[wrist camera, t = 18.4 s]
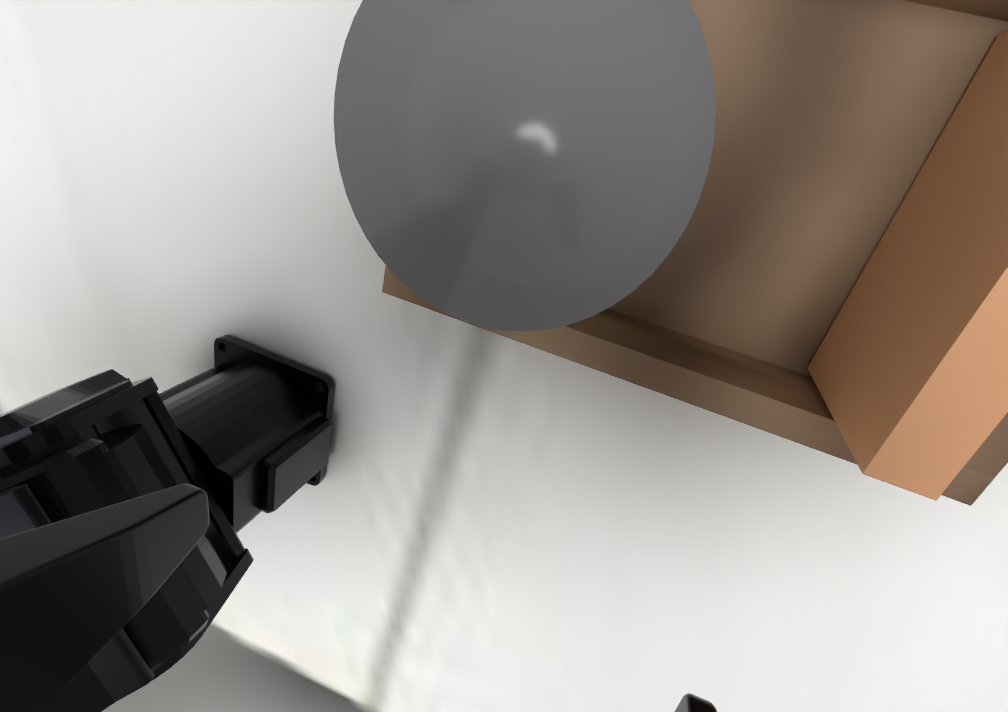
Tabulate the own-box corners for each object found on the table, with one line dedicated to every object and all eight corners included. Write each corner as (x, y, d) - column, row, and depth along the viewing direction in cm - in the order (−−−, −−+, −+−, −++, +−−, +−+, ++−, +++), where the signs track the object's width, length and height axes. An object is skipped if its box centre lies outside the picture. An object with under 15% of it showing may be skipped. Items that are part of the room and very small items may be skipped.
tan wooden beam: (807, 368, 17) (862, 473, 11) (998, 33, 12) (1225, -44, 7) (856, 384, 16) (936, 500, 11) (1069, 47, 12) (1358, -22, 7)
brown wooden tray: (433, 266, 21) (382, 291, 17) (503, -114, 15) (449, -188, 12) (913, 432, 17) (970, 505, 14) (1211, 21, 12) (1424, -28, 9)
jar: (480, 212, 18) (319, 267, 10) (526, 1, 16) (355, -143, 8) (656, 270, 17) (625, 381, 9) (742, 52, 14) (802, -55, 6)
